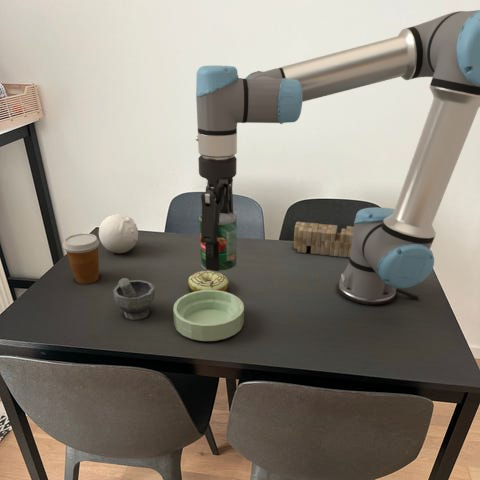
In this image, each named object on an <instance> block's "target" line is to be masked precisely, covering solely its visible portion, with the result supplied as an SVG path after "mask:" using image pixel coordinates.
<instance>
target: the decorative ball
mask: <svg viewBox="0 0 480 480" xmlns="http://www.w3.org/2000/svg"><path fill="white" fill-rule="evenodd" d="M98 237H99V242H100V243H101V245H102V246H103V247H104V248H105V249H106V250H107V251H109V252H111V253H114V254H124V253H128V252H129V251H131V250H132V249H133V248H134V247H135V246H136V244H137V243H138V239H139V229H138V226H137V224H136V222H135V221H134V220H133V218H132V217H130V216H127V215H124V214H119V213H118V214H111V215H109V216H106V218H104V219H103V220H102V221H101V223H100V225H99V228H98Z"/></svg>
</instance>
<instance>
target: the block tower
mask: <svg viewBox="0 0 480 480" xmlns="http://www.w3.org/2000/svg"><path fill="white" fill-rule="evenodd" d="M353 231H354V226H351V225H347V226H346V228H341V230H340V232H338V224H325V223H324V224H323V223H318V222H316V223H315V222H304V221H303V222H302V221H296V222H295V225H294V234H293V249H294V250H296V253H300V254H301V253H302V254H306V253H307V252H308V249H309V247H310V254H312V255H320V256H330V257H339V258H349V259H350V252H351V245H352V238H353Z"/></svg>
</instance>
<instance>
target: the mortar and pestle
mask: <svg viewBox="0 0 480 480" xmlns="http://www.w3.org/2000/svg"><path fill="white" fill-rule="evenodd" d="M112 293H113V297H114V300H115V303H116V304H117V306H118V307H119V308H120V309H121V311H123V315H124V316H125V317H124V318H126V319H128V320H132V321H135V320H142V319H144V318H147V317H148V315H149V314H150V308H151V306H152V304H153V302H154V300H155V294H156V291H155V287H154V285H153V284H152V283H151V282H149V281H146V280H142V279H135V280H130V279H129V278H127V277H122V278H121V279H119V281H118V283H117V285H116V286H115V287H114V288H113V290H112Z"/></svg>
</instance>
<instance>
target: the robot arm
mask: <svg viewBox="0 0 480 480" xmlns="http://www.w3.org/2000/svg"><path fill="white" fill-rule="evenodd" d="M397 78H402V79H403V80H405V81H410V80H414V79H419V78H431V81H430V84H429V90H430V92H431V94H432V96H433V99H432V102H431V104H430V108H429V110H428V113H427V117H426V119H425V122H424V125H423V127H422V130H421V134H420V137H419V139H418V141H417V145H416V147H415V150H414V153H413V156H412V159H411V162H410V165H409V168H408V171H407V173H406V176H405V178H404V182H403V184H402V188H401V191H400V193H399V196H398V199H397V202H396V204H395V207H394V208H389V207H366V208H365V207H364V208H362V209H360V210H358V211H357V213H356V215H355V219H354V221H353V227H354V231H353V238H352V245H351V252H350V258H349V261H348V263H347V266H346V268H345V270H344V271H343V272H341V275H340V279H339V282H338V292H339V294H340V295H341V296H342V297H344V299H347V300H348V301H351V302H353V303H357V304H360V305H367V306H381V305H386V304H389V303H391V302H392V301H393V300H395V298H396V295H397V293H399V294H402V295H405V296H407V297H409V298H412V299H415V300H418V299H419V295H416V294H413V293H411V292H409V291H406V289H409V288H413V287H415V286H416V285H417V284H421V283H423V282H424V281H425V280H426V279H427V278H428V277H429V275H431V273H432V271H433V269H434V265H435V257H434V253H433V251H432V250H431V247H432V244H433V243H434V240H435V238H436V234H437V232H436V231H435V228H434V226H433V223H434V221H435V218H436V216H437V213H438V210H439V209H440V205H441V203H442V200H443V198H444V196H445V193H446V190H447V188H448V186H449V184H450V181H451V178H452V176H453V173H454V171H455V168H456V166H457V163H458V160H459V158H460V155H461V153H462V151H463V148H464V146H465V143H466V140H467V139H468V136H469V133H470V131H471V128H472V126H473V123H474V120H475V118H476V115H477V113H478V111H479V109H480V9H476V10H467V11H465V10H459V11H453V12H450V13H447V14H444V15H440V16H439V17H435V18H433V19H430V20H428V21H425V22H422V23H419V24H417V25H413V26H409V27H405V28H403V29H402V30H400V32H399V33H398V35H397V36H393V37H390V38H386V39H382V40H379V41H374V42H370V43H367V44H363V45H359V46H356V47H352V48H347V49H344V50H341V51H336V52H332V53H329V54H325V55H321V56H317V57H314V58H311V59H306V60H302V61H298V62H295V63H291V64H287V65H284V66H281V67H276V68H272V69H269V70H265V71H260V70H257V71H254V72H250V73H249V74H248V75H247V76H245V77H244V78H243V77H239V74H238V68H237V67H236V66H234V65H218V64H217V65H211V64H210V65H202V66H200V67H199V68H198V69H197V71H196V82H195V83H196V85H195V87H196V88H195V89H196V90H195V98H196V99H195V101H196V121H197V123H196V124H197V136H196V137H195V141H196V142H197V143H198V144H197V148H198V154H199V157H198V160H197V161H198V175H199V176H200V177H201V178H203V179H206V181H207V184H206V186H205V192H201V195H200V199H201V214H202V227H201V242H203V243H205V247H206V269H205V271H208V270H213V271H219V241H217V237H218V223H219V218H220V213H226V214H228V212H230V213H233V214H234V198H233V194H234V193H233V182H234V178H235V177H236V175H237V166H238V165H237V160H238V159H237V157H236V156H235V155H237V153H238V127H237V126H238V124H246V123H247V124H249V123H253V124H256V123H258V124H280V125H283V124H286V123H296V122H297V121H298V120H299V119H300V116H301V114H302V110H303V109H302V108H303V102H307V101H311V100H315V99H319V98H323V97H327V96H331V95H335V94H339V93H342V92H346V91H350V90H354V89H358V88H362V87H366V86H369V85H374V84H377V83H381V82H385V81H389V80H393V79H397Z"/></svg>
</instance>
